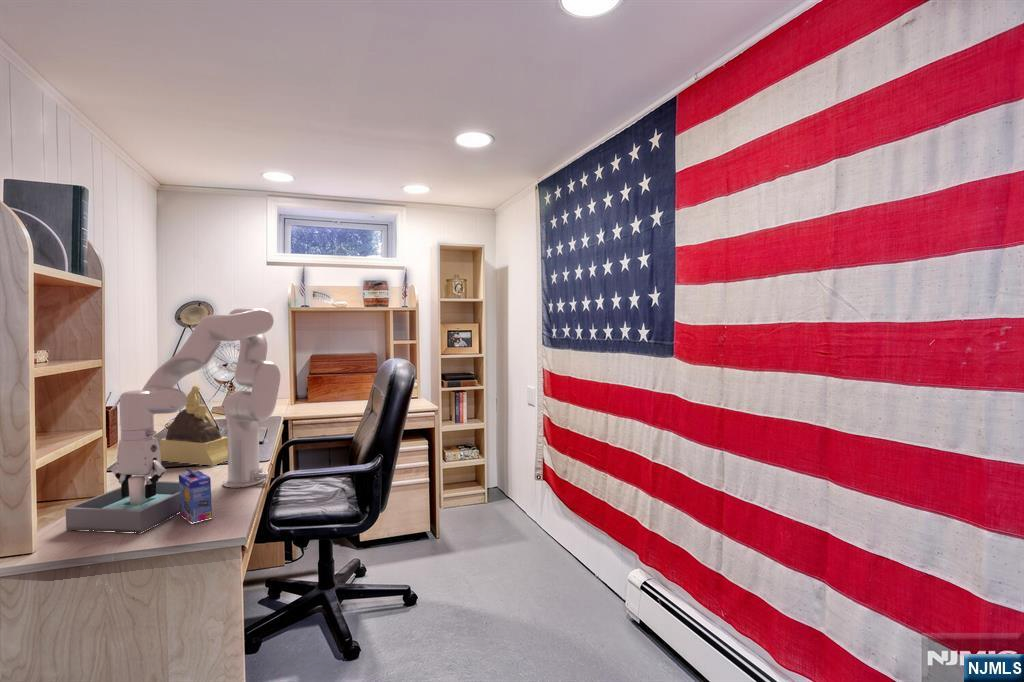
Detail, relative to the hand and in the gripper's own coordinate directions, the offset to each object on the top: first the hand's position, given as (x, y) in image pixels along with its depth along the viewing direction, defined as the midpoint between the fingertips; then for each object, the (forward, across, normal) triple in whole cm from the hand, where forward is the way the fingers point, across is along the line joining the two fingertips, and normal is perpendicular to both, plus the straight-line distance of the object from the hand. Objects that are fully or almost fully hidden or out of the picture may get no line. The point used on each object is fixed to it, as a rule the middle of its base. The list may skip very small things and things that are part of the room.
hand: (139, 495), depth 141 cm
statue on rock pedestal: (+6, +23, -54) cm, 59 cm away
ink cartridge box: (+6, -17, 0) cm, 18 cm away
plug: (+5, 0, 0) cm, 5 cm away
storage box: (+6, 0, 0) cm, 6 cm away
